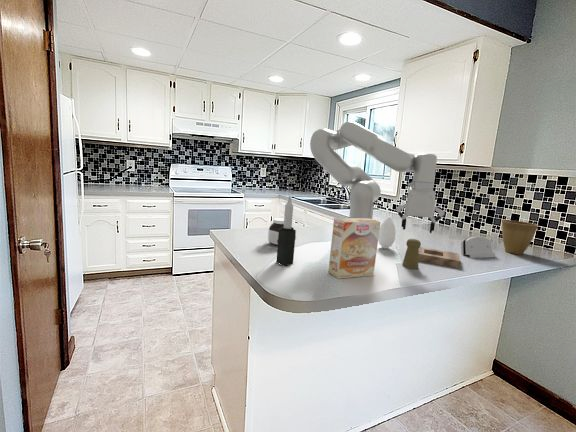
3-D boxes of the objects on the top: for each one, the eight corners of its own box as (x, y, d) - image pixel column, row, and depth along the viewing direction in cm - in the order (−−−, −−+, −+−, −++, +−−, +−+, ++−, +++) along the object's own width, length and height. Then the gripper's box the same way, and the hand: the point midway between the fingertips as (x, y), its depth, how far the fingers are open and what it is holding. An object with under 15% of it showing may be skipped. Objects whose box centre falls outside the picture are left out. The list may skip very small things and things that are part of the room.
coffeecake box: (338, 279, 105) (344, 221, 102) (327, 271, 111) (332, 217, 108) (374, 275, 111) (381, 221, 108) (362, 269, 117) (368, 217, 114)
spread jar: (266, 245, 139) (267, 219, 138) (271, 239, 150) (273, 215, 149) (292, 248, 138) (295, 222, 136) (296, 242, 149) (298, 218, 147)
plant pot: (538, 256, 158) (545, 225, 155) (515, 256, 154) (522, 224, 152) (511, 248, 172) (517, 219, 170) (489, 248, 168) (495, 219, 166)
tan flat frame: (407, 258, 136) (408, 251, 136) (409, 251, 149) (410, 245, 148) (459, 268, 128) (460, 261, 127) (457, 259, 140) (458, 253, 140)
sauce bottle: (375, 245, 156) (380, 209, 153) (391, 247, 155) (396, 210, 152) (377, 249, 148) (382, 211, 145) (395, 251, 147) (400, 213, 144)
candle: (284, 260, 121) (290, 195, 117) (294, 263, 117) (300, 197, 113) (275, 262, 117) (279, 195, 113) (284, 266, 114) (289, 197, 110)
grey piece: (470, 257, 146) (467, 236, 147) (461, 258, 150) (458, 237, 152) (495, 256, 151) (492, 236, 153) (486, 257, 156) (483, 237, 157)
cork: (415, 264, 128) (419, 238, 126) (420, 269, 122) (424, 242, 120) (400, 263, 129) (404, 237, 127) (404, 268, 123) (408, 240, 121)
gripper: (397, 185, 120) (392, 229, 123) (448, 189, 113) (441, 235, 116) (399, 184, 127) (395, 226, 130) (447, 188, 120) (441, 232, 122)
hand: (417, 230), depth 123 cm, fingers open, 9 cm apart
